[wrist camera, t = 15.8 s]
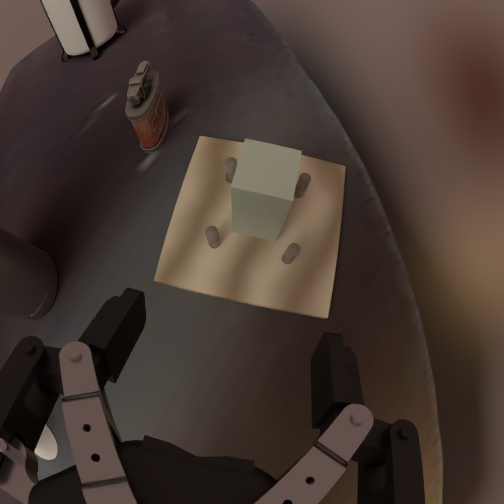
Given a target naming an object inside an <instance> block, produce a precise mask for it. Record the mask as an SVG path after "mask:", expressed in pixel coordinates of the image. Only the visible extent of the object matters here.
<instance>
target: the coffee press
mask: <svg viewBox="0 0 504 504" xmlns="http://www.w3.org/2000/svg"><path fill="white" fill-rule="evenodd" d="M40 1H41V3H42V6H43V8H44V10H45V13H46V15H47V17H48V19H49V22H50V23H51V26H52V28H53V30H54V32H55V34H56V37H57V39H58V41H59V43H60V45H61V47H62V49H63V54H62V61H63V62H66V61H67V60H68V59H69V57H70V55H81V54H84V53H87V52H90V53H91V56H92V58H93V60H95V59H97V58H99V54H98V51H97V48H98V47H100V46H101V45H103V44H104V43H106V42H107V41H108V40H109V39H110V38H111V37H112V36H113V35H114V34H115V33H120V34H123V33H125V32H126V29H125V27H124V26H122V25H120V24H119V23H118V22H117V23H118V25H119V26H120V27H122V28H124V30H123V31H118V30H117V23H116V21H117V19H116V20H115V18H116V15H115V12H114V9H113V8H114V7H115V6H116V5H117V4H118V2H119V0H40ZM110 1H111V2H110ZM64 50H65V52H66V53H67V54H69V55H68V57H67V58H66V59H63V55H64Z"/></svg>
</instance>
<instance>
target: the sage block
mask: <svg viewBox="0 0 504 504" xmlns="http://www.w3.org/2000/svg"><path fill="white" fill-rule="evenodd" d="M301 153H302V151H300V150H296V149H292V148H287V147H283V146H279V145H274V144H270V143H265V142H260V141H255V140H250V139H245V141H244V144H243V147H242V151H241V154H240V157H239V161H238V164H237V167H236V171H235V174H234V178H233V181H232V185H231V204H232V226H233V232H235V233H239V234H244V235H248V236H253V237H257V238H261V239H266V240H270V241H275V242H276V239H277V237H278V235H279V232H280V230H281V228H282V226H283V223H284V221H285V219H286V216H287V214H288V212H289V209H290V207H291V205H292V202H293V198H294V193H295V187H296V182H297V176H298V170H299V165H300V159H301Z"/></svg>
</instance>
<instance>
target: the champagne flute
mask: <svg viewBox="0 0 504 504" xmlns="http://www.w3.org/2000/svg"><path fill="white" fill-rule="evenodd" d="M57 451H58V449H57V443H56V440H55V438H54V436H53V434H52V432H51V431H50V429H49V428H48V427H47V425H45V427H44V430H43V432H42V434H41V437H40V439H39V441H38V444H37V446H36V449H35V451H34V452H35V453H36V454H37V455H38V456H40V457H41V458H44V459H47V460H52V459H54V458H55V457H56V455H57Z"/></svg>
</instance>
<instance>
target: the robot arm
mask: <svg viewBox="0 0 504 504" xmlns="http://www.w3.org/2000/svg"><path fill="white" fill-rule="evenodd" d="M57 282H58V281H57V271H56V266H55V264H54V261H53V259H52V258H51V256H50V255H49V254H48V253H47V252H46V251H44V250H42V249H40V248H38V247H36V246H34V245H32V244H31V243H29V242H27V241H25V240H23V239H21V238H19V237H17V236H15V235H13V234H11V233H9V232H7V231H6V230H4V229H2V228H0V315H1V316H8V317H15V318H23V319H38V318H40V317H42V316H43V315H45V314H46V313H47V311H48V310H49V309H50V307H51V306H52V304H53V301H54V299H55V296H56V291H57ZM145 322H146V309H145V296H144V292H142V291H139V290H135V289H131V288H127V289H126V290H125V291H124V292H123V294H122V295H121V296H120V297H118V296H114V297H112V298H111V299H109V300H108V301H106V302H105V304H104V305H103V306H102V308H101V309H100V311H99V312H98V313H97V314H96V317H94V319H93V320H92V321H91V323H90V324H89V326H88V327H87V329H86V330H85V331H84V333H83V334H82V336H81V337H80V339H79V340H78V341H77V342H70V343H68V344H66V345H65V346H64V347H63V348H54V347H46V346H44V345H43V342H42V341H41V339H39V338H38V337H35V336H28V337H25V338H23V339H22V340H21V341H20V342H19V343H18V344H17V346H16V347H15V349H14V350H13V352H12V353H11V355H10V356H9V358H8V359H7V361H6V363H5V364H4V366H3V367H2V369H1V371H0V487H1V488H2V489H3V490H5V491H6V492H8V493H9V494H10V495H12V496H13V497H15V498H16V499H18V500H19V501H21V502H22V503H24V504H318V503H319V502H320V501H321V499H322V498H323V497H324V496H325V495H326V494H327V492H328V491H329V490H330V489H331V488H332V486H333V485H334V484H335V483H336V481H337V480H338V479H339V478H340V476H341V475H342V474H343V473H344V471H345V470H346V468H347V466H348V464H347V463H348V461H349V460H353V461H356V462H358V497H357V504H425V493H424V480H423V469H422V460H421V452H420V444H419V437H418V432H417V429H416V427H415V426H414V424H413V423H411V422H410V421H408V420H404V419H401V420H397V421H396V422H394V423H393V424H390V423H386V422H383V421H380V420H377V419H375V418H373V415H372V413H371V412H370V410H369V409H368V408H366V407H365V406H364V403H363V396H362V390H361V384H360V377H359V372H358V368H357V360H356V356H355V354H354V353H353V351H352V350H351V348H350V347H345V346H344V343H343V337H342V335H341V334H337V333H330V332H324V333H323V335H322V337H321V339H320V341H319V343H318V345H317V347H316V349H315V351H314V353H313V356H312V359H311V398H312V428H316V429H320V436H319V437H318V438H317V439H316V440H315V441H314V442H313V443H312V444H311V446H310V447H309V448H308V449H307V450H306V451H305V452H304V453H303V454H302V455H301V456H300V457H299V458H298V459H297V460H296V461H295V462H294V463H293V464H292V465H291V466H290V467H289V468H288V469H287V470H286V471H285V472H284V473H283V474H282V475H281V476H280V477H279V478H278V479H276V480H275V479H274V478H273V477H272V476H271V475H270V474H268V473H266V472H265V471H263V470H261V469H259V468H257V467H254V463H255V461H253V460H246V459H240V458H234V457H228V456H224V457H198V456H195V455H193V454H191V453H189V452H187V451H185V450H183V449H181V448H179V447H177V446H175V445H173V444H172V443H169V442H165V441H162V440H159V439H155V438H152V437H149V436H146V435H145V436H144V439H143V441H142V440H132V441H125V442H122V439H121V437H120V434H119V432H118V430H117V427H116V425H115V422H114V419H113V416H112V412H111V409H110V406H109V402H108V399H107V395H106V392H105V388H104V386H105V384H106V382H107V380H108V381H110V382H113V383H116V381H117V379H118V377H119V375H120V373H121V371H122V369H123V367H124V365H125V363H126V361H127V359H128V357H129V355H130V353H131V351H132V350H133V348H134V346H135V344H136V342H137V340H138V338H139V336H140V334H141V333H142V331H143V329H144V326H145ZM60 394H63V395H64V399H62V408H63V413H64V419H65V423H66V428H67V432H68V437H69V441H70V445H71V449H72V452H73V456H74V460H75V463H76V465H74V466H72V467H69V468H67V469H65V470H63V471H61V472H58V473H56V474H54V475H52V476H49V477H47V478H45V479H42V480H40V481H39V480H38V477H37V472H38V460H37V458H36V456H35V454H34V451H35V449H36V446H37V444H38V441H39V439H40V437H41V434H42V432H43V430H44V427H45V425H46V423H47V421H48V418H49V416H50V414H51V412H52V410H53V408H54V405H55V403H56V401H57V399H58V397H59V395H60Z"/></svg>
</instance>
